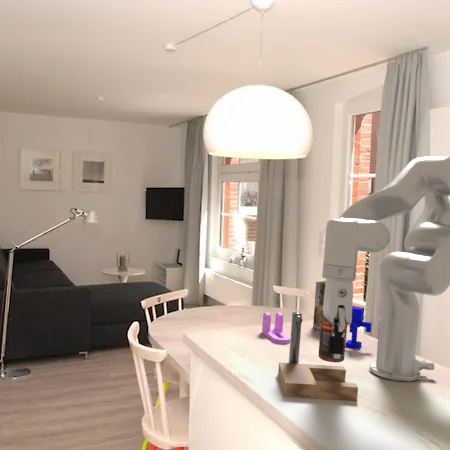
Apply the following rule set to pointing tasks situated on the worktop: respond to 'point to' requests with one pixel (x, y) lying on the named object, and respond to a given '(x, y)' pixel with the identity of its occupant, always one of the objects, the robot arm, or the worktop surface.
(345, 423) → the worktop surface
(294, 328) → the hook post
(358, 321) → the figurine
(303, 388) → the bay shelf
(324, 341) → the supplement bottle
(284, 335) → the bracket
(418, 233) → the robot arm
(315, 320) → the coffee box
